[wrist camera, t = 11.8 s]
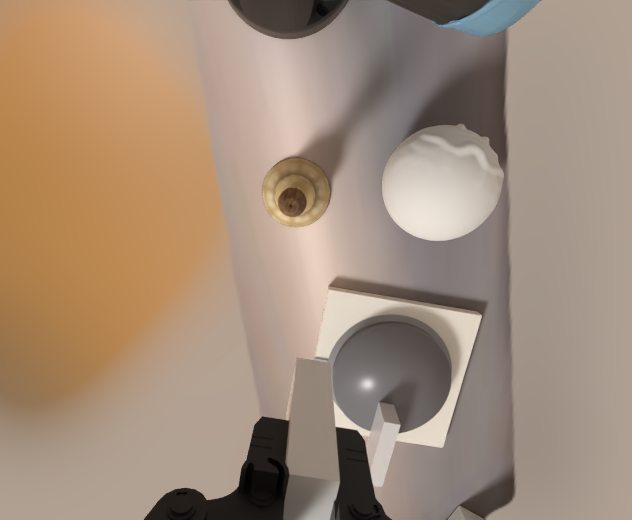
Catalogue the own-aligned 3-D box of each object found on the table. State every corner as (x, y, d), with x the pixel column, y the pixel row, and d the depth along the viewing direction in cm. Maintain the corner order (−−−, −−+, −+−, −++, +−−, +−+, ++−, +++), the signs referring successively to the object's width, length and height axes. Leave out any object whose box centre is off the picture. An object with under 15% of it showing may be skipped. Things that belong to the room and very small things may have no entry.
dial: (346, 311, 49) (351, 330, 43) (460, 333, 49) (480, 356, 44) (314, 441, 53) (314, 475, 47) (419, 460, 54) (432, 495, 48)
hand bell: (319, 149, 46) (322, 140, 30) (337, 216, 48) (349, 239, 32) (253, 169, 46) (223, 169, 31) (274, 234, 48) (255, 266, 33)
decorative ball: (491, 158, 46) (551, 155, 35) (441, 246, 49) (481, 271, 37) (404, 112, 45) (435, 93, 33) (357, 205, 47) (371, 217, 36)
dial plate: (327, 286, 50) (327, 290, 48) (477, 311, 51) (482, 316, 49) (301, 420, 54) (300, 428, 53) (438, 441, 55) (442, 450, 54)
